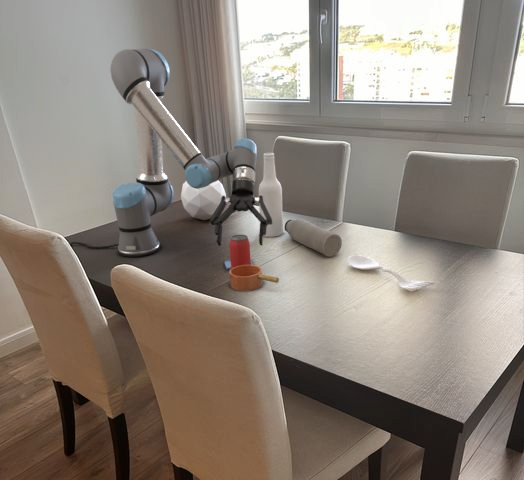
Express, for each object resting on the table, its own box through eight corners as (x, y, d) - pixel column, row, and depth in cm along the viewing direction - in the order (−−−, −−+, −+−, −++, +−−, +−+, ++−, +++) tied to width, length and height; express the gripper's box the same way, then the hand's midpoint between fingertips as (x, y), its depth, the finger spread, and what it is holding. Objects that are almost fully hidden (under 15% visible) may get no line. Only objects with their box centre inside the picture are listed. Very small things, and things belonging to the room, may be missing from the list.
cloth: (224, 263, 168) (224, 261, 168) (249, 260, 169) (249, 258, 169) (226, 270, 163) (226, 267, 163) (252, 266, 164) (252, 264, 164)
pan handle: (256, 279, 148) (256, 274, 147) (259, 277, 149) (259, 272, 148) (276, 283, 144) (276, 278, 144) (279, 281, 146) (279, 276, 145)
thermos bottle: (345, 243, 169) (302, 224, 191) (334, 229, 164) (290, 210, 186) (330, 261, 170) (288, 240, 191) (318, 247, 164) (277, 227, 186)
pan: (224, 286, 151) (222, 273, 149) (242, 275, 158) (241, 262, 156) (250, 293, 146) (249, 279, 144) (268, 281, 153) (268, 267, 151)
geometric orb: (211, 236, 216) (203, 207, 198) (177, 215, 222) (166, 185, 203) (237, 206, 221) (231, 176, 203) (203, 187, 227) (195, 155, 208)
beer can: (236, 278, 157) (233, 242, 151) (228, 271, 162) (225, 236, 156) (255, 273, 159) (252, 237, 153) (246, 267, 164) (243, 232, 158)
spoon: (411, 299, 137) (412, 288, 136) (340, 265, 162) (341, 255, 160) (434, 291, 141) (435, 280, 139) (362, 259, 165) (362, 249, 163)
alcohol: (287, 232, 194) (285, 151, 179) (275, 238, 188) (272, 156, 173) (268, 229, 199) (265, 150, 183) (256, 235, 192) (252, 154, 177)
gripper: (204, 178, 160) (199, 238, 155) (280, 177, 157) (277, 238, 152) (209, 191, 167) (204, 248, 162) (281, 190, 164) (279, 248, 159)
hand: (239, 243), depth 157 cm, fingers open, 13 cm apart
